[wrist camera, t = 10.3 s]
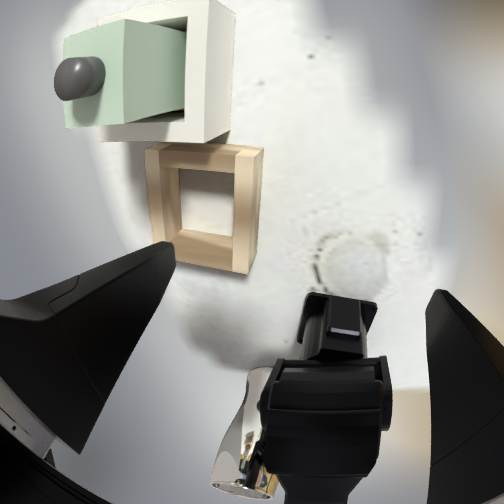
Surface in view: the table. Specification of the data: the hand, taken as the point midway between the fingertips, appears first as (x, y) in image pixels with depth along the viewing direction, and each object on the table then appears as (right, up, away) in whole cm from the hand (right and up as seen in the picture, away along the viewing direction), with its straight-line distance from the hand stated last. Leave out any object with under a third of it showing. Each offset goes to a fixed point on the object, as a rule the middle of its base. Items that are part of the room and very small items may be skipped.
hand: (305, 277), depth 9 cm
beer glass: (+1, -15, +25) cm, 29 cm away
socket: (-7, +14, +9) cm, 18 cm away
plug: (-7, +13, +8) cm, 17 cm away
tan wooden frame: (-5, +5, +14) cm, 16 cm away
